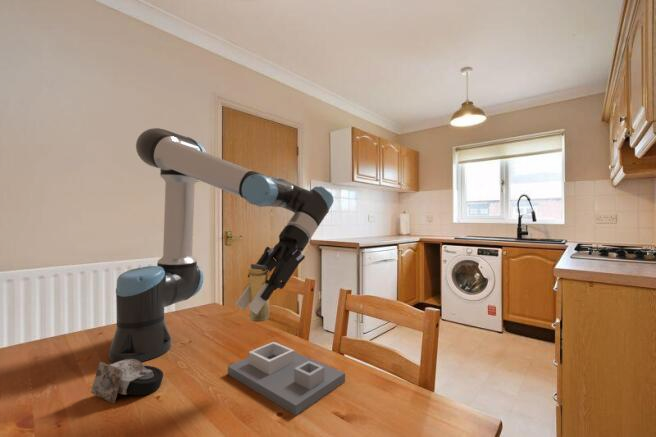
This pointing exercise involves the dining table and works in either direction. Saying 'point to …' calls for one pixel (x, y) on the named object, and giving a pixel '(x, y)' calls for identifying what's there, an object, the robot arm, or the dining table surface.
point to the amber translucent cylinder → (256, 282)
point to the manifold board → (286, 376)
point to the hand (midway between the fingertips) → (246, 308)
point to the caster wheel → (125, 379)
